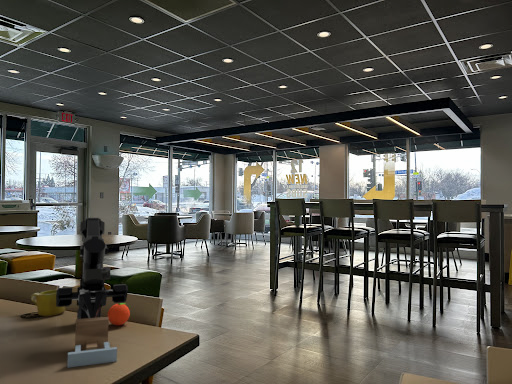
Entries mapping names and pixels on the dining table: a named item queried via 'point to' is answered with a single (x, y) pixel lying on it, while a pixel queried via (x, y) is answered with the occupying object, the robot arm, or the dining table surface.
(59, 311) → the mug
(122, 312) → the clementine
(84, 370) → the dining table surface
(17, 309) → the dining table surface
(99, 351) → the slot bracket
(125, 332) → the dining table surface
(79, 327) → the brown upright blocky piece
